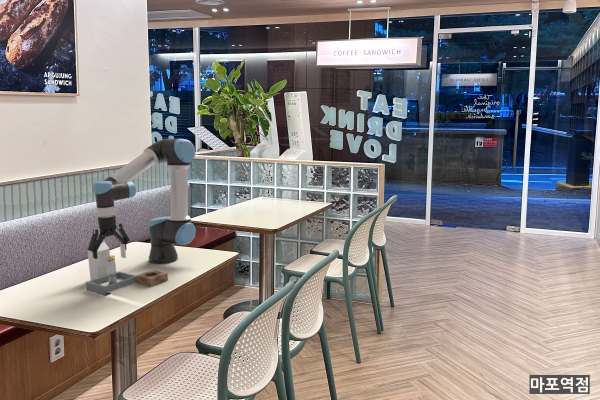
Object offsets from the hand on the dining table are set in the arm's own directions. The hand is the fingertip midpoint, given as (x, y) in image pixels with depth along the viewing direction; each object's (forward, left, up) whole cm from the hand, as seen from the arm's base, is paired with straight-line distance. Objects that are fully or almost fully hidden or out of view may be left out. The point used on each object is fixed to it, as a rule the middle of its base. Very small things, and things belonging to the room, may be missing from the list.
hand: (111, 261), depth 248 cm
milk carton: (-4, -15, -13) cm, 20 cm away
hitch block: (-12, +13, -12) cm, 21 cm away
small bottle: (0, 0, -11) cm, 11 cm away
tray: (0, 0, -12) cm, 12 cm away
